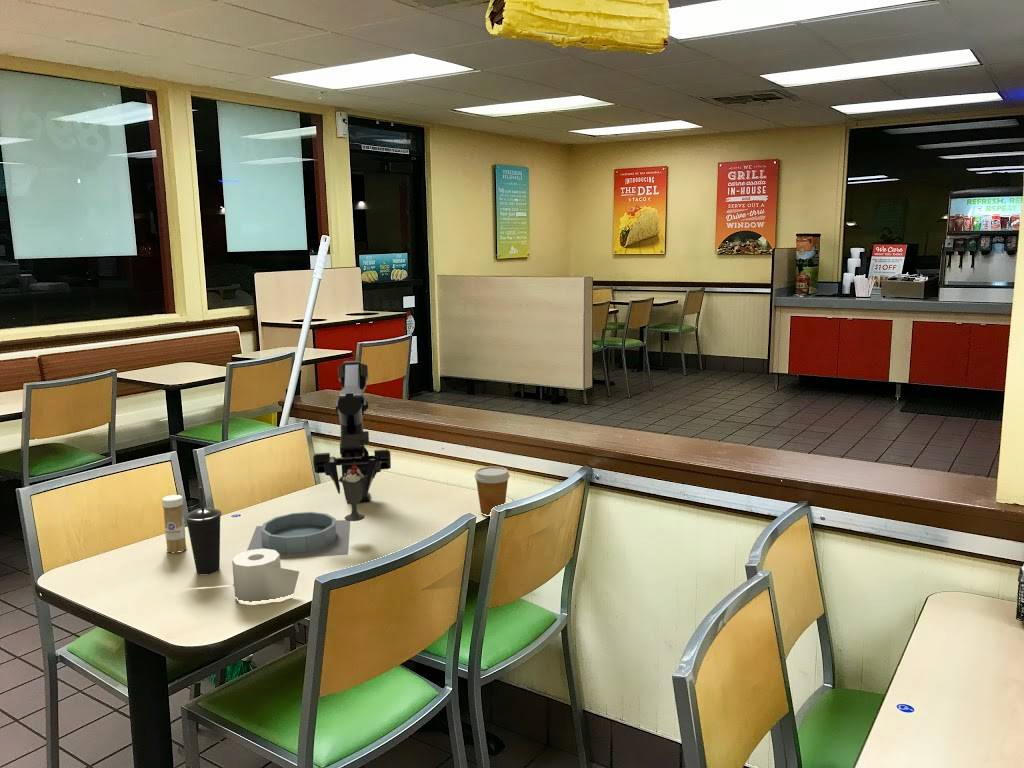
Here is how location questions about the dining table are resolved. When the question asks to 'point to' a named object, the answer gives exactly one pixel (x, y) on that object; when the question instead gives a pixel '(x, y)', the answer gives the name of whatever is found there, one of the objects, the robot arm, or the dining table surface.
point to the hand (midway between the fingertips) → (353, 491)
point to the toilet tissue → (262, 576)
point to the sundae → (353, 491)
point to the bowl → (299, 532)
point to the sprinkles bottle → (174, 523)
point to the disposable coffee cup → (491, 487)
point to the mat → (332, 549)
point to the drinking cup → (205, 537)
